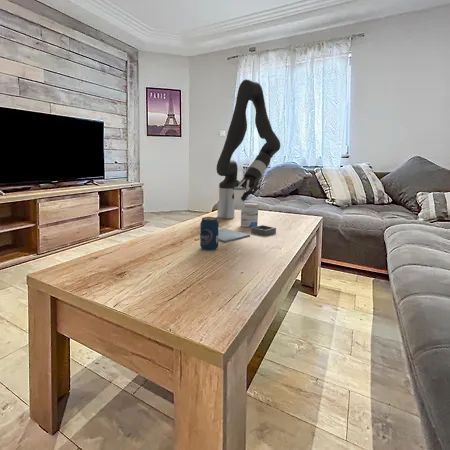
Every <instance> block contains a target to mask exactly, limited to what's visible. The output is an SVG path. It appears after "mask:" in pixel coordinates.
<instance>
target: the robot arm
mask: <svg viewBox="0 0 450 450" xmlns="http://www.w3.org/2000/svg"><path fill="white" fill-rule="evenodd" d="M235 100H236V101H235V105H234V110H233V113H232V118H231V121H230V124H229V127H228V130H227V134H226V138H225V140H224V141H225V142H224V145H223V147H222V151H221V152H220V156H219V158H218V160H217V164H216V173H217V175H218V176H220V177H224V179H223V180H222V181H221V182H219V184H218V200H217V217H218V218H219V219H227V220H228V219H234V218H235V209H234V187H245V192H244V194H243V196H242V197H241V199H242V201H245V202H246V200H247V199H248V197H249V196H250V195H252V196H253V195H254V194H255V193H256V192H257V191H258V190H259V188H260V187H261V184H260V181H261V178H262V177H263V175H264V174H265V172H266V170H267V168H268V167H269V165H270V163H271V160H272V159H273V157H274V155H276V154H277V152H278V151H280V149H281V142H280V139H279V138H278V136H277V135H276V133H275V132H274V130H273V127H272V124H271V121H270V119H269V115H268V113H267V108H266V102H265V96H264V92H263V88H262V85H261V83H260V82H258V81H254V80H250V79H244V80H242V81H241V82H240V84H239V86H238V90H237V95H236V99H235ZM249 101H251V102H252V104H253V107H254V109H255V115H254V123H255V127H256V130H257V133H258V136H259V138H260V139H262V140H265V143H264V144H263V146H262V147H261V149H260V150H259V152H258V155H256V156H255V158H254V160H253V162H252V163H251V164H250V166H249V167H248V168H247V170H246V171H245V173H244V175H243V178H242V179H241V180H238V164H237V161H236V160H234V159H232V157H233V154H234V153H235V151H236V150H237V149H238V148H239V146H241V144H242V143H243V141H244V139H245V135H246V133H247V130H248V120H247V114H246V113H247V108H248V104H249ZM217 217H216V218H217Z"/></svg>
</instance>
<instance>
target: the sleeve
mask: <svg viewBox="0 0 450 450" xmlns="http://www.w3.org/2000/svg"><path fill="white" fill-rule="evenodd" d="M251 233H252V234H257V235H260V236H265V237H266V236H270V235H273V234H276V233H277V227H274V226H269V225H264V224H262V225H261V224H260V225H257V226H256V227H251Z"/></svg>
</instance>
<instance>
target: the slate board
mask: <svg viewBox="0 0 450 450" xmlns="http://www.w3.org/2000/svg"><path fill="white" fill-rule="evenodd" d="M249 237H251V234H249V233H247V232H246V233H245V232H241V231H237V230H233V229H230V228H229V229H228V228H221V229H218V242H221V243H229V242H233V241H237V240H241V239H245V238H249Z"/></svg>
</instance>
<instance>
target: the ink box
mask: <svg viewBox="0 0 450 450" xmlns="http://www.w3.org/2000/svg"><path fill="white" fill-rule="evenodd" d="M240 212H241V214H240V227H243V228H245V227H246V228H252V227H256V226H258V223H259V222H258V221H259V220H258V219H259V203H248V202H247V203H246V202H245V209H244V210H240Z"/></svg>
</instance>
